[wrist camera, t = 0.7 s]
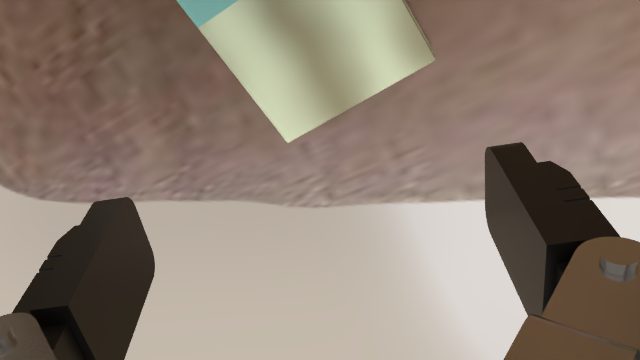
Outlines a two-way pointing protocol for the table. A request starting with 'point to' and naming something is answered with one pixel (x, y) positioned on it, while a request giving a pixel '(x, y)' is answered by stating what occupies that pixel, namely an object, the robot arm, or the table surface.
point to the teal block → (204, 9)
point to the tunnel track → (316, 54)
